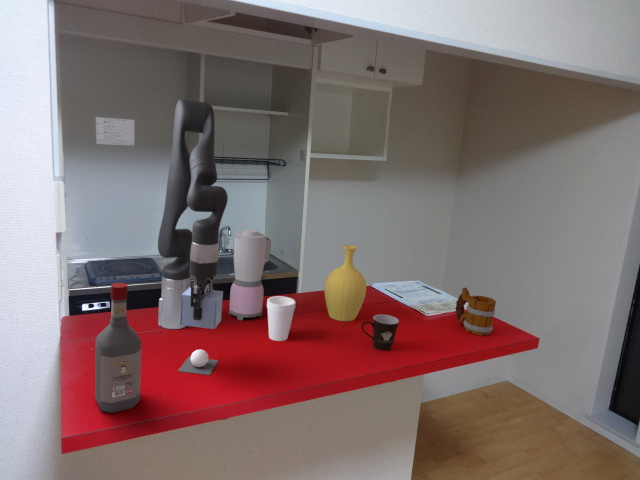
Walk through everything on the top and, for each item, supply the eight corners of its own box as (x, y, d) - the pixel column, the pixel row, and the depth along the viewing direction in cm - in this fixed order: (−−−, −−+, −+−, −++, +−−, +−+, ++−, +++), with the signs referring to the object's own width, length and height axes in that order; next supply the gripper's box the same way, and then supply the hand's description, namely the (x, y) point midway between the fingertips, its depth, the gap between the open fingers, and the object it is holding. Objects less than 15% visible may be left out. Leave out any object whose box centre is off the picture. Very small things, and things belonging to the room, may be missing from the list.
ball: (189, 352, 140) (206, 355, 140) (194, 345, 145) (211, 348, 145) (187, 368, 141) (204, 371, 141) (192, 361, 146) (209, 364, 146)
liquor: (142, 406, 121) (145, 289, 115) (102, 416, 116) (102, 293, 110) (131, 389, 128) (134, 277, 122) (93, 397, 123) (93, 281, 117)
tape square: (178, 371, 140) (178, 370, 140) (188, 357, 149) (188, 356, 149) (209, 375, 139) (209, 374, 139) (218, 361, 148) (218, 360, 148)
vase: (369, 316, 197) (378, 248, 191) (350, 327, 184) (358, 254, 178) (335, 305, 206) (342, 239, 200) (313, 315, 192) (320, 245, 186)
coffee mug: (397, 344, 173) (400, 317, 171) (392, 354, 165) (396, 326, 163) (364, 337, 176) (368, 310, 174) (358, 346, 168) (361, 318, 166)
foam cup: (287, 344, 164) (291, 307, 161) (260, 340, 166) (263, 303, 163) (294, 334, 173) (298, 298, 170) (269, 329, 175) (272, 294, 172)
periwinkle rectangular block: (180, 324, 138) (181, 294, 136) (188, 316, 145) (189, 287, 143) (214, 329, 138) (216, 298, 136) (221, 320, 144) (223, 291, 142)
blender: (241, 323, 178) (247, 235, 171) (221, 312, 186) (227, 228, 179) (275, 314, 189) (282, 232, 182) (255, 304, 197) (261, 225, 191)
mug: (483, 338, 187) (489, 300, 183) (446, 323, 198) (452, 287, 195) (497, 333, 194) (504, 296, 191) (461, 318, 206) (467, 284, 202)
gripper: (199, 250, 144) (196, 304, 148) (182, 263, 130) (179, 322, 134) (224, 253, 144) (221, 307, 148) (210, 266, 130) (207, 326, 134)
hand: (201, 314), depth 141 cm, fingers closed on periwinkle rectangular block, 6 cm apart
